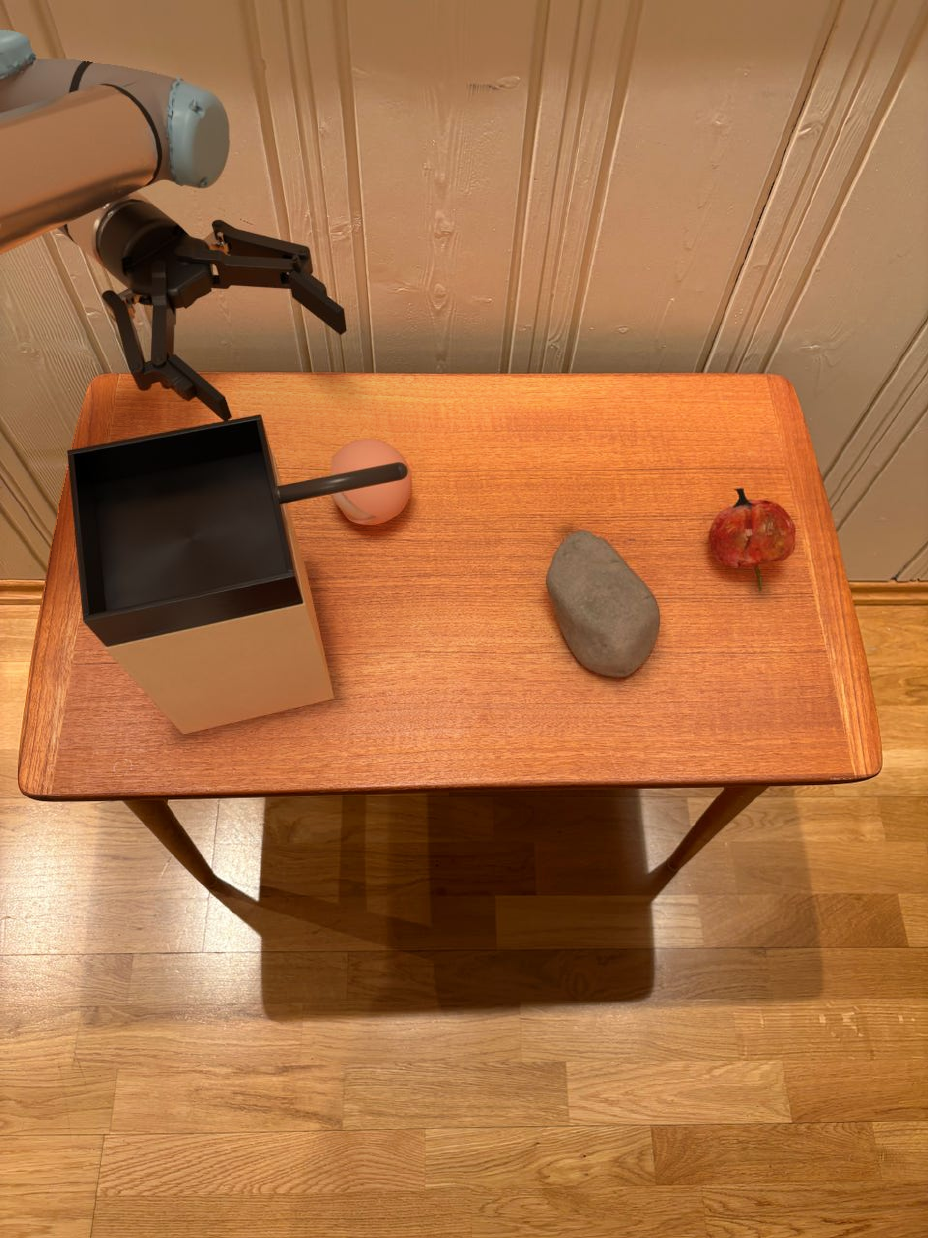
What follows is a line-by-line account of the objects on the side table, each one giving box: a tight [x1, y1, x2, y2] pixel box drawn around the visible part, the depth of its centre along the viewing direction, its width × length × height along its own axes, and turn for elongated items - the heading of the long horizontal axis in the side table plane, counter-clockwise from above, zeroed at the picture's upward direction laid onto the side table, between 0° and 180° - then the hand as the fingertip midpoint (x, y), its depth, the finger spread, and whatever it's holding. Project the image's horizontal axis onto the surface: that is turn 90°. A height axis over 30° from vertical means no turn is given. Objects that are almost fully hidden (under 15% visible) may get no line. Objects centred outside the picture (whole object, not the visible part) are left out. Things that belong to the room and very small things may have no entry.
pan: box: [66, 414, 408, 647], centre depth 56 cm, size 22×13×4 cm, turn 105°
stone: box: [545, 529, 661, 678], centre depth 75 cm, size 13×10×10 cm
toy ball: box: [329, 438, 413, 526], centre depth 78 cm, size 8×8×8 cm
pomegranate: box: [708, 487, 797, 591], centre depth 78 cm, size 7×7×10 cm
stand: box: [104, 447, 335, 735], centre depth 66 cm, size 13×13×19 cm
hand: (286, 364), depth 73 cm, fingers open, 13 cm apart
